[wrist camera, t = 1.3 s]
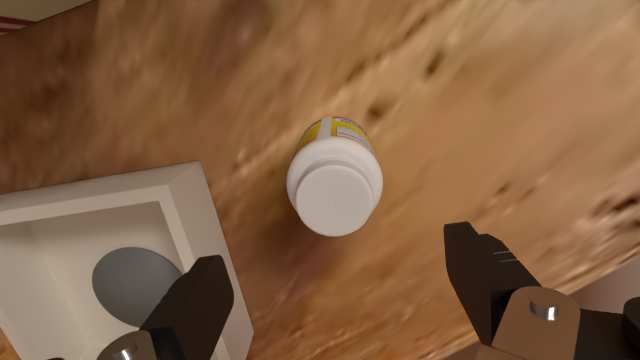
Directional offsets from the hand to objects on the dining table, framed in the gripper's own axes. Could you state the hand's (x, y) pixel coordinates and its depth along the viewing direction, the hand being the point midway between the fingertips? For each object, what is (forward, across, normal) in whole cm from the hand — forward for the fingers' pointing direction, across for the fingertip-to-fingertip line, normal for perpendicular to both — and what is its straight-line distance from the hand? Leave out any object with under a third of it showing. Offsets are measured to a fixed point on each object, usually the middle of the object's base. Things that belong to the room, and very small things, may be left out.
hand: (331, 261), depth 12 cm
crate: (+15, +20, +8) cm, 26 cm away
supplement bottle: (+16, 0, 0) cm, 16 cm away
